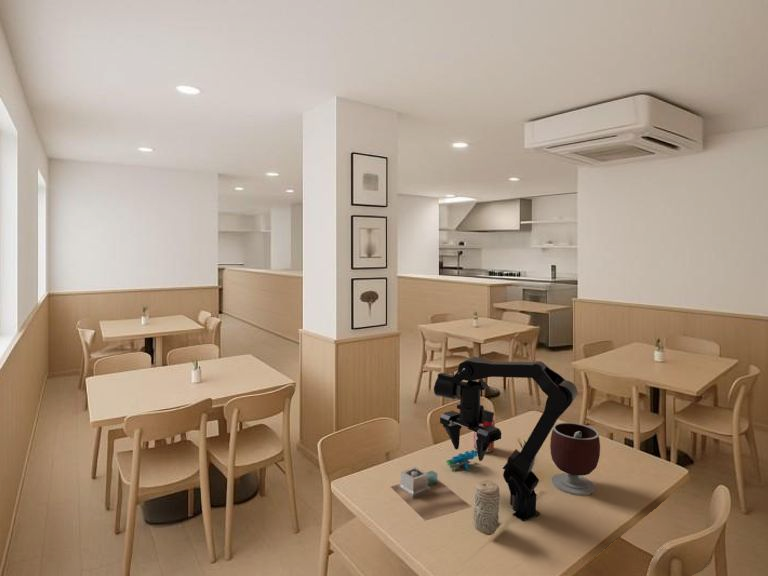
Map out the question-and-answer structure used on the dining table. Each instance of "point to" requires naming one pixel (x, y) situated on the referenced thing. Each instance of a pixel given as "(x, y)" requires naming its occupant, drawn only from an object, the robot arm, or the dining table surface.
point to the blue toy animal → (462, 459)
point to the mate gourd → (574, 457)
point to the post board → (433, 500)
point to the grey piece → (417, 482)
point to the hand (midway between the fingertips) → (468, 454)
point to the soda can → (477, 438)
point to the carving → (486, 506)
